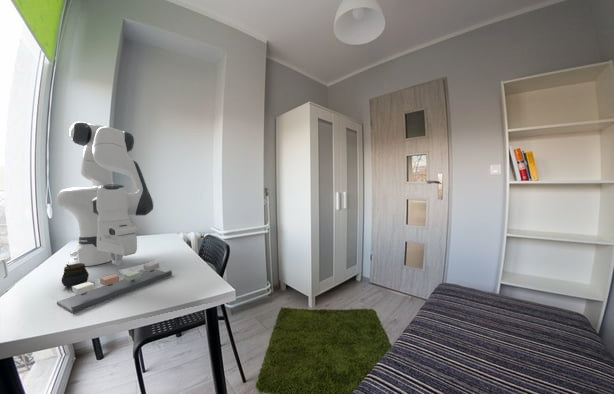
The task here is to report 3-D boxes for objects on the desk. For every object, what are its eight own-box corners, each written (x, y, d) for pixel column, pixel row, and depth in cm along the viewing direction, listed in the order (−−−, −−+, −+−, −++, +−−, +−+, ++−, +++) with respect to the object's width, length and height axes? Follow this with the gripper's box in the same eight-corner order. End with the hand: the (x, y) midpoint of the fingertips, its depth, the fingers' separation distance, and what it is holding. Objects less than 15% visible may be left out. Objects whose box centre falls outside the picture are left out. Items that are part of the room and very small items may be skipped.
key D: (123, 282, 83) (123, 274, 82) (135, 278, 86) (135, 270, 86) (129, 284, 81) (128, 276, 81) (141, 279, 84) (140, 272, 84)
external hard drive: (157, 268, 101) (123, 277, 91) (151, 264, 106) (119, 273, 96) (156, 265, 101) (123, 274, 91) (151, 261, 106) (118, 269, 96)
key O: (72, 295, 70) (72, 286, 70) (89, 290, 73) (88, 281, 73) (78, 298, 68) (77, 289, 68) (94, 292, 72) (93, 283, 72)
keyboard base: (56, 303, 70) (56, 297, 69) (154, 270, 97) (154, 266, 97) (73, 313, 64) (72, 307, 64) (171, 275, 91) (171, 270, 91)
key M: (143, 272, 89) (143, 264, 89) (154, 268, 92) (153, 261, 92) (149, 273, 87) (148, 266, 87) (159, 270, 91) (159, 263, 91)
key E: (100, 286, 76) (99, 278, 76) (114, 282, 80) (113, 273, 80) (105, 288, 74) (105, 280, 74) (119, 284, 78) (119, 275, 78)
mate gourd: (92, 279, 88) (90, 256, 88) (84, 287, 82) (82, 262, 81) (67, 283, 85) (66, 259, 84) (57, 291, 78) (55, 265, 77)
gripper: (89, 227, 79) (92, 263, 80) (119, 231, 71) (121, 271, 71) (110, 224, 85) (112, 257, 86) (140, 227, 77) (142, 264, 77)
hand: (117, 264), depth 78 cm, fingers closed
